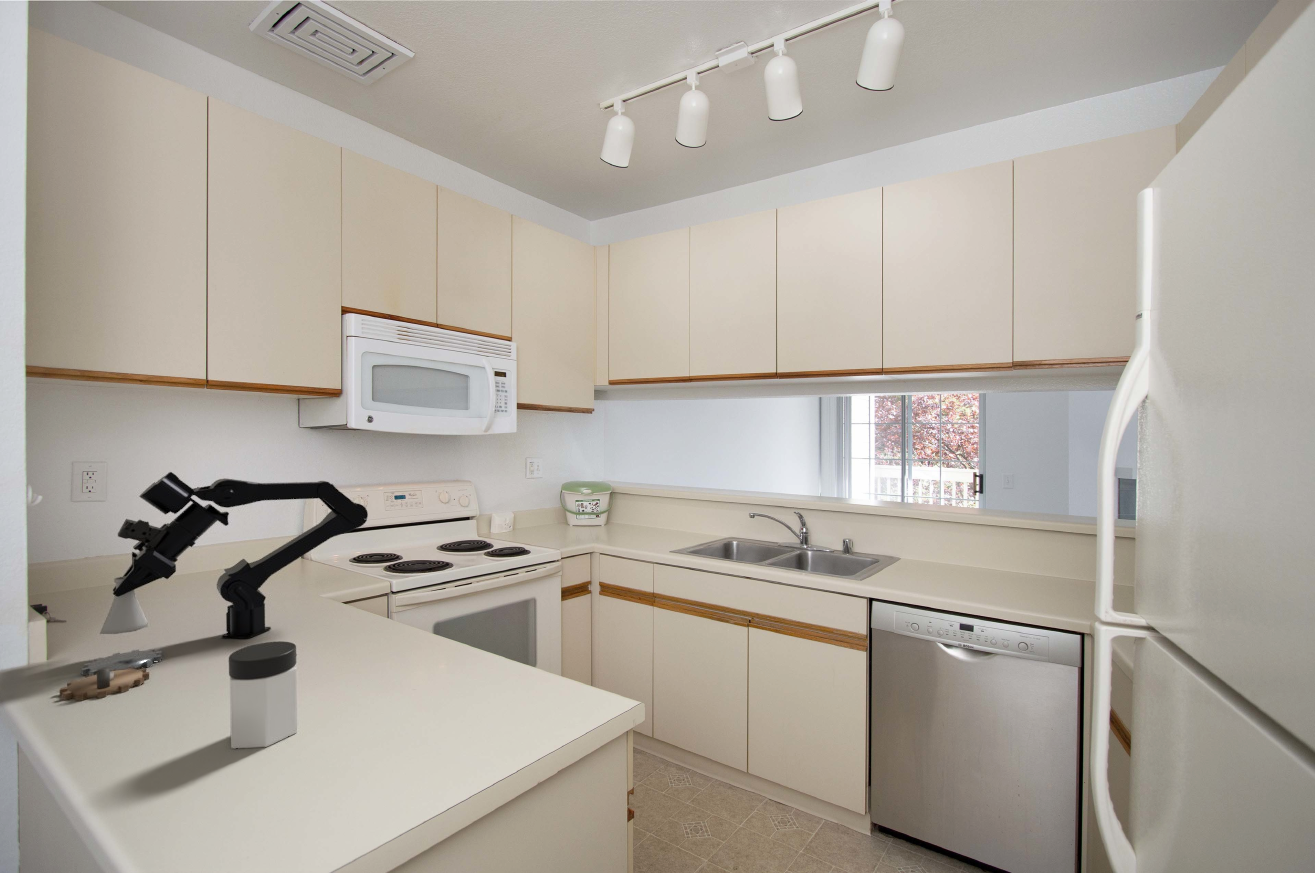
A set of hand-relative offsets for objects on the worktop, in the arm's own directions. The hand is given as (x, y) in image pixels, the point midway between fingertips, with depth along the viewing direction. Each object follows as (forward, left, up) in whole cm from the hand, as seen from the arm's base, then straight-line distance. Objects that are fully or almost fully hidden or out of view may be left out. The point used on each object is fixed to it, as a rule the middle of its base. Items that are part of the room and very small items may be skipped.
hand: (114, 593), depth 118 cm
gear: (-5, +3, -12) cm, 14 cm away
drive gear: (-12, +11, -12) cm, 20 cm away
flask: (-1, -1, -7) cm, 7 cm away
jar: (-51, +23, -13) cm, 58 cm away
